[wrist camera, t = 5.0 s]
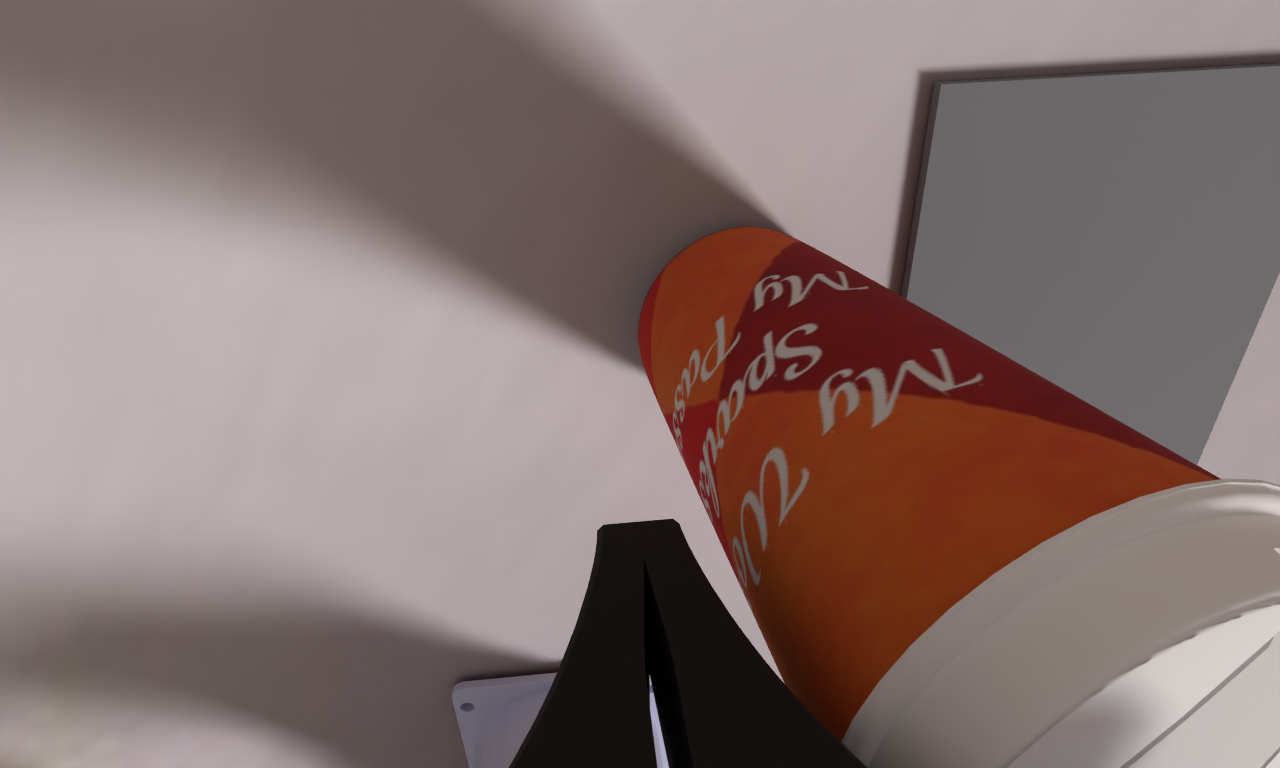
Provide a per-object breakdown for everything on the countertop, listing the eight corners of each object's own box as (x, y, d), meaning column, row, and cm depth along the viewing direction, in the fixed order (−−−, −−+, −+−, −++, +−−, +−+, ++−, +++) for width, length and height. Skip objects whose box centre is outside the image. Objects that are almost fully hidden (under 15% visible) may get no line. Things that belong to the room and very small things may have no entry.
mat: (1155, 534, 27) (1163, 542, 27) (859, 561, 27) (863, 569, 26) (1355, 58, 19) (1370, 60, 19) (934, 81, 18) (941, 84, 18)
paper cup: (680, 133, 18) (1225, 487, 6) (908, 247, 21) (1541, 615, 9) (549, 405, 20) (753, 1013, 9) (770, 467, 24) (1131, 968, 12)
